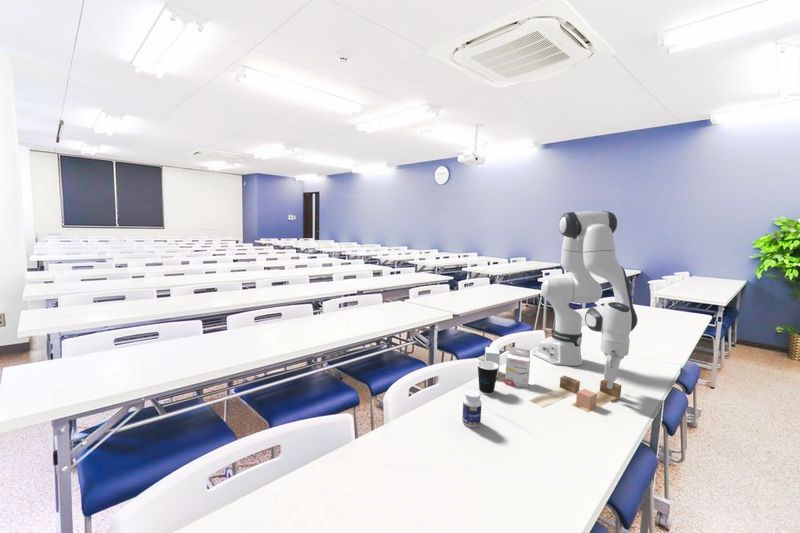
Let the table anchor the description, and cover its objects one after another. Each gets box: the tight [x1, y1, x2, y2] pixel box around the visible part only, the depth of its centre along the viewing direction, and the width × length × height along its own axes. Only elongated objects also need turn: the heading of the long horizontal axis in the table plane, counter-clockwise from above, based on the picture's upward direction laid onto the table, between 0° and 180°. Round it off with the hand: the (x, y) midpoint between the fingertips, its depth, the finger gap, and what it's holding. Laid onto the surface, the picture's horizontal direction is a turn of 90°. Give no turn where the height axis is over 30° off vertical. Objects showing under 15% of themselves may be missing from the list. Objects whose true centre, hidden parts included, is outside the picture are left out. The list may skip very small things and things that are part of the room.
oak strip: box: [571, 378, 622, 413], centre depth 129 cm, size 6×22×5 cm, turn 124°
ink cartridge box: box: [504, 346, 531, 389], centre depth 142 cm, size 9×5×15 cm, turn 65°
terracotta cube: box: [575, 388, 597, 410], centre depth 125 cm, size 4×4×4 cm
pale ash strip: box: [528, 375, 581, 408], centre depth 131 cm, size 6×22×5 cm, turn 124°
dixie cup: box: [476, 360, 500, 395], centre depth 136 cm, size 8×8×11 cm
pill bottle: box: [461, 389, 482, 428], centre depth 115 cm, size 6×6×10 cm
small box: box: [484, 346, 501, 379], centre depth 153 cm, size 8×6×10 cm
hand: (611, 382), depth 135 cm, fingers open, 8 cm apart
